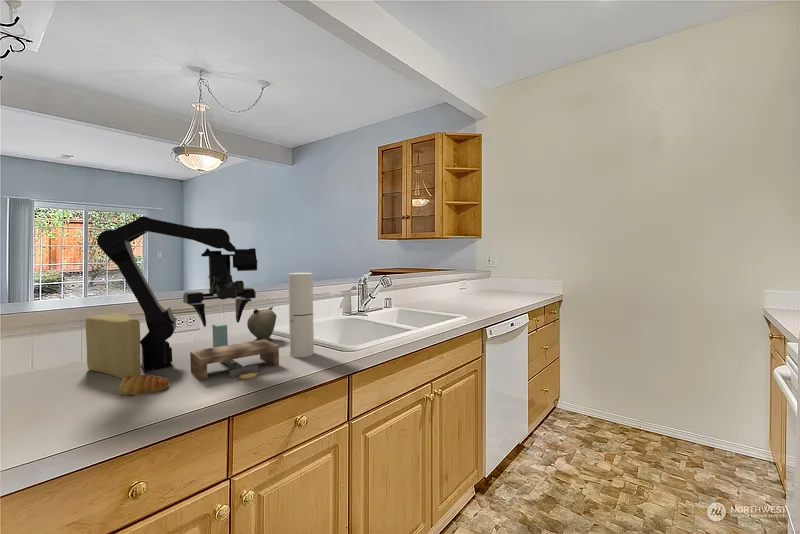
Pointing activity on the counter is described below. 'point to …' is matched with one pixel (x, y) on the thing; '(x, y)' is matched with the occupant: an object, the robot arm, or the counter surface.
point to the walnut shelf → (232, 355)
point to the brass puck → (247, 374)
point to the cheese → (113, 344)
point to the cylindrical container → (301, 314)
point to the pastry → (142, 384)
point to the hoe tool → (222, 340)
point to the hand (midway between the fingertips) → (221, 324)
